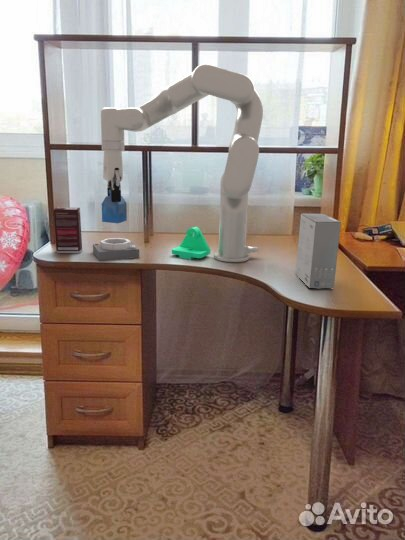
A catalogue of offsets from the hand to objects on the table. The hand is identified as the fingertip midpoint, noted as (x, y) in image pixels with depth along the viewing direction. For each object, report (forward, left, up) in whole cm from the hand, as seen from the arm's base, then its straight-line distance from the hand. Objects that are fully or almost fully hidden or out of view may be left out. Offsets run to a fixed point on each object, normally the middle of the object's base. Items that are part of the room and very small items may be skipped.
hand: (114, 200), depth 166 cm
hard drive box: (-50, +49, -20) cm, 73 cm away
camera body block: (0, 0, -20) cm, 20 cm away
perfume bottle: (0, 0, -8) cm, 8 cm away
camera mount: (-25, +9, -20) cm, 33 cm away
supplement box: (+15, -9, -20) cm, 26 cm away
